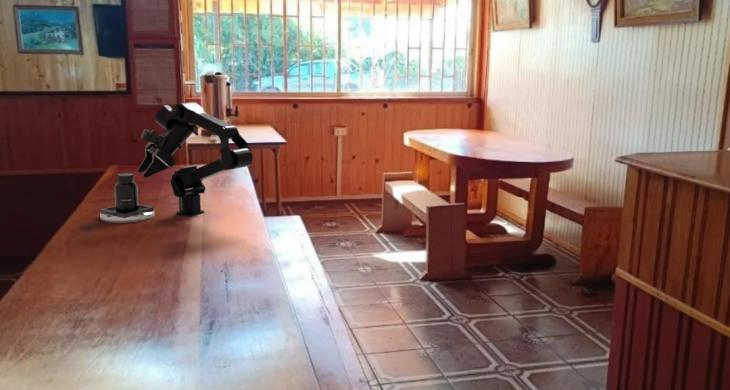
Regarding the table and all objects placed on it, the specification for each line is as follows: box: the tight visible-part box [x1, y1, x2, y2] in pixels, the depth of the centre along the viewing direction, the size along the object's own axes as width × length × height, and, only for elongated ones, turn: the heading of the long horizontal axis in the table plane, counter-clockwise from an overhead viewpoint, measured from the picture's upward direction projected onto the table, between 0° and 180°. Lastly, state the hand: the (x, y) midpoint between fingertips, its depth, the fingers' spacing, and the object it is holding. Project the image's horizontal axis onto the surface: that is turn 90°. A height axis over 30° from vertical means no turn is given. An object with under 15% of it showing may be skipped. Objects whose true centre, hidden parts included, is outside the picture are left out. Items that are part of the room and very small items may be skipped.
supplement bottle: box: [113, 172, 139, 213], centre depth 195 cm, size 7×7×12 cm
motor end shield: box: [99, 203, 155, 224], centre depth 197 cm, size 16×16×3 cm
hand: (141, 174), depth 194 cm, fingers open, 9 cm apart
